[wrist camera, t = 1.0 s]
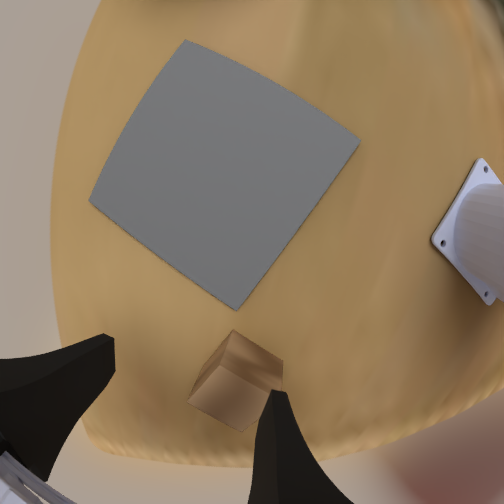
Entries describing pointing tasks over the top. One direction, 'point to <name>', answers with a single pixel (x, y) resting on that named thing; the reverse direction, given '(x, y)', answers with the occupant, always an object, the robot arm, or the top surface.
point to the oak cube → (237, 382)
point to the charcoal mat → (219, 170)
